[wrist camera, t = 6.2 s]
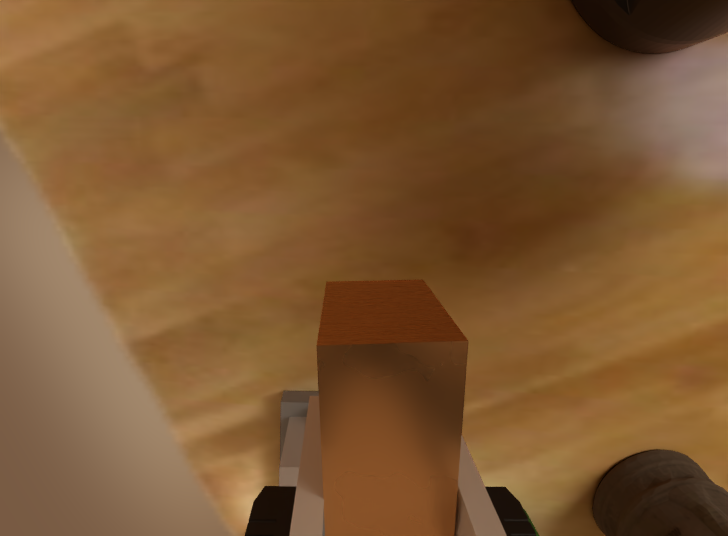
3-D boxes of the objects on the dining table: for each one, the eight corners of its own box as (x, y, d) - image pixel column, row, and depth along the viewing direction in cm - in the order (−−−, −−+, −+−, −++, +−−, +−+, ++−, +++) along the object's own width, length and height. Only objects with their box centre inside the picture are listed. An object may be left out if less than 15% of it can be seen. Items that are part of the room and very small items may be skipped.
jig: (283, 390, 30) (268, 450, 23) (417, 393, 30) (437, 452, 24) (281, 542, 34) (268, 628, 27) (399, 542, 34) (412, 624, 28)
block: (326, 281, 13) (316, 345, 8) (422, 279, 13) (468, 340, 8) (335, 540, 16) (332, 697, 11) (413, 536, 16) (443, 688, 12)
